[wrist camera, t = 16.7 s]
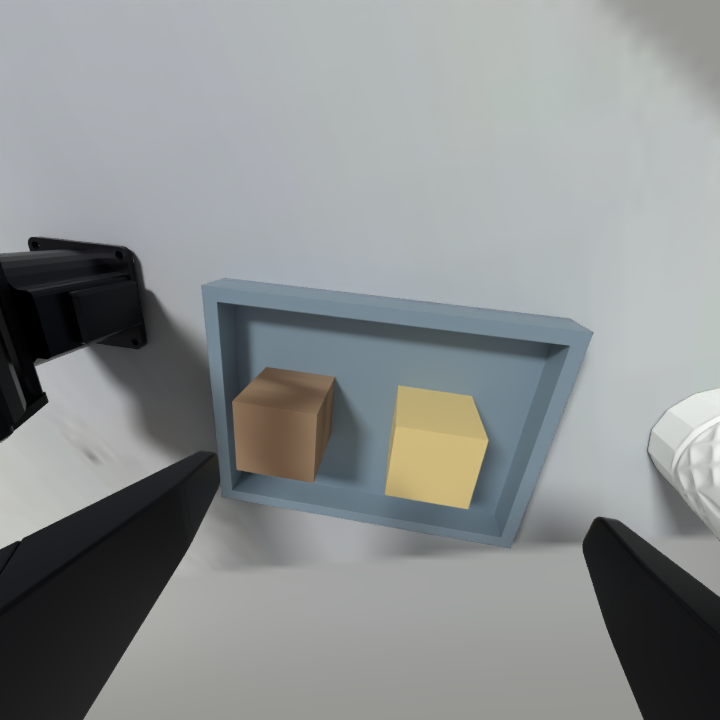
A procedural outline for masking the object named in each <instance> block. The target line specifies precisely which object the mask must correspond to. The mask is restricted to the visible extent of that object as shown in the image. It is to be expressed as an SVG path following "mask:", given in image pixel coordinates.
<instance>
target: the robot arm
mask: <svg viewBox="0 0 720 720" xmlns="http://www.w3.org/2000/svg"><path fill="white" fill-rule="evenodd" d="M28 246H29V249H30V252H16V253H3V254H0V443H1V442H2V441H4V440H6V439H7V438H8V437H9V436H10V435H11V434H12V433H13V431H14V430H16V429H17V428H18V427H19V426H20V425H22V424H23V423H24V422H25V421H26V420H28V419H29V418H30V417H31V416H33V415H34V414H35V413H36V412H37V411H39V410H40V409H41V408H42V407H43V406H45V405H46V404H47V403H48V402H49V401H48V398H47V395H46V392H43V390H42V387H41V384H40V381H39V378H38V375H37V372H36V368H35V366H37V365H40V364H42V363H45V362H48V361H50V360H53V359H55V358H58V357H61V356H63V355H66V354H69V353H71V352H74V351H76V350H79V349H82V348H84V347H87V346H89V345H92V344H95V343H97V344H105V345H112V346H119V347H126V348H133V349H140V348H142V347H144V346H146V344H147V340H146V334H145V328H144V322H143V316H142V311H141V305H140V299H139V293H138V287H137V282H136V276H135V270H134V264H133V258H132V254H131V252H130V250H129V249H128V248H126V247H124V246H118V245H109V244H100V243H91V242H82V241H73V240H64V239H55V238H46V237H30V238H29V240H28ZM39 246H40V247H39ZM120 252H121V253H122V254H123V258H122V257H121V254H120ZM136 339H137V340H138V341H139V343H138V342H137V340H136ZM219 485H220V469H219V459H218V455H217V454H216V453H213V452H207V451H199V452H197V453H195V454H193V455H191V456H189V457H187V458H185V459H183V460H181V461H179V462H176V463H174V464H172V465H170V466H168V467H166V468H164V469H162V470H160V471H158V472H156V473H154V474H152V475H150V476H148V477H146V478H144V479H142V480H140V481H138V482H136V483H134V484H132V485H130V486H128V487H126V488H124V489H122V490H120V491H118V492H116V493H114V494H112V495H110V496H108V497H106V498H104V499H102V500H100V501H98V502H96V503H94V504H92V505H90V506H88V507H85V508H83V509H81V510H79V511H77V512H75V513H73V514H71V515H69V516H67V517H65V518H63V519H61V520H59V521H57V522H55V523H53V524H51V525H49V526H47V527H45V528H43V529H41V530H39V531H37V532H35V533H33V534H31V535H29V536H27V537H25V538H23V539H22V541H17V542H14V543H12V544H10V545H8V546H6V547H4V548H2V549H0V720H83V719H84V717H85V716H86V714H87V712H88V711H89V709H90V708H91V706H92V704H93V702H94V701H95V699H96V698H97V696H98V695H99V693H100V691H101V690H102V688H103V686H104V685H105V683H106V682H107V680H108V678H109V677H110V675H111V673H112V672H113V670H114V669H115V667H116V665H117V664H118V662H119V661H120V659H121V657H122V656H123V654H124V652H125V651H126V649H127V647H128V646H129V644H130V643H131V641H132V640H133V638H134V636H135V635H136V633H137V631H138V630H139V628H140V626H141V625H142V623H143V622H144V620H145V618H146V617H147V615H148V614H149V612H150V610H151V609H152V607H153V605H154V604H155V602H156V601H157V599H158V597H159V596H160V594H161V592H162V591H163V589H164V588H165V586H166V584H167V583H168V581H169V580H170V578H171V576H172V575H173V573H174V571H175V570H176V568H177V567H178V565H179V563H180V562H181V560H182V558H183V557H184V555H185V553H186V552H187V550H188V548H189V546H190V544H191V543H192V541H193V539H194V537H195V535H196V533H197V531H198V529H199V527H200V525H201V523H202V520H203V518H204V516H205V514H206V512H207V510H208V508H209V506H210V504H211V502H212V500H213V498H214V496H215V494H216V492H217V490H218V488H219ZM583 554H584V557H585V560H586V564H587V567H588V570H589V573H590V577H591V580H592V583H593V586H594V590H595V593H596V596H597V599H598V603H599V606H600V609H601V612H602V615H603V618H604V621H605V624H606V627H607V630H608V633H609V635H610V638H611V640H612V643H613V646H614V648H615V650H616V653H617V655H618V658H619V660H620V663H621V665H622V668H623V670H624V673H625V675H626V677H627V680H628V682H629V685H630V687H631V690H632V692H633V695H634V697H635V699H636V702H637V704H638V707H639V709H640V712H641V714H642V717H643V719H644V720H720V597H719V596H718V595H716V594H715V593H714V592H712V591H711V590H710V589H708V588H707V587H706V586H705V585H703V584H702V583H701V582H699V581H698V580H697V579H695V578H694V577H693V576H691V575H690V574H689V573H687V572H686V571H685V570H683V569H682V568H681V567H679V566H678V565H677V564H675V563H674V562H673V561H671V560H670V559H669V558H668V557H666V556H665V555H663V554H662V553H661V552H660V551H658V550H657V549H656V548H655V547H653V546H652V545H651V544H649V543H648V542H647V541H645V540H644V539H643V538H641V537H640V536H639V535H637V534H636V533H635V532H633V531H632V530H631V529H630V528H628V527H627V526H626V525H624V524H623V523H622V522H620V521H618V520H616V519H611V518H605V517H597V518H595V519H594V521H593V522H592V524H591V526H590V528H589V530H588V532H587V534H586V536H585V538H584V541H583Z"/></svg>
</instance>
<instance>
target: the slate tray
mask: <svg viewBox="0 0 720 720" xmlns="http://www.w3.org/2000/svg"><path fill="white" fill-rule="evenodd" d="M201 286H202V296H203V306H204V317H205V327H206V337H207V348H208V358H209V368H210V379H211V389H212V399H213V410H214V420H215V430H216V441H217V451H218V459H219V469H220V482H221V492H222V497H224V498H230V499H236V500H241V501H247V502H252V503H258V504H264V505H269V506H275V507H281V508H286V509H292V510H297V511H303V512H309V513H314V514H320V515H326V516H331V517H337V518H343V519H348V520H354V521H359V522H365V523H371V524H376V525H382V526H388V527H393V528H399V529H404V530H410V531H416V532H421V533H427V534H433V535H438V536H444V537H449V538H455V539H461V540H466V541H472V542H478V543H483V544H489V545H494V546H500V547H506V548H511V546H512V543H513V541H514V538H515V536H516V533H517V530H518V528H519V525H520V523H521V520H522V517H523V515H524V512H525V509H526V507H527V504H528V502H529V499H530V496H531V494H532V491H533V489H534V486H535V483H536V481H537V478H538V476H539V473H540V470H541V468H542V465H543V463H544V460H545V457H546V455H547V452H548V449H549V447H550V444H551V442H552V439H553V436H554V434H555V431H556V429H557V426H558V423H559V421H560V418H561V416H562V413H563V410H564V408H565V405H566V403H567V400H568V397H569V395H570V392H571V389H572V387H573V384H574V382H575V379H576V376H577V374H578V371H579V369H580V366H581V363H582V361H583V358H584V356H585V353H586V350H587V348H588V345H589V343H590V340H591V337H592V335H593V332H592V331H590V330H589V329H587V328H585V327H583V326H582V325H580V324H578V323H577V322H575V321H573V320H571V319H568V318H560V317H551V316H543V315H534V314H526V313H517V312H509V311H500V310H491V309H483V308H474V307H466V306H457V305H449V304H440V303H432V302H423V301H415V300H406V299H398V298H389V297H381V296H372V295H364V294H355V293H347V292H338V291H330V290H321V289H312V288H304V287H295V286H287V285H278V284H270V283H261V282H253V281H244V280H236V279H227V278H224V279H221V280H218V281H214V282H211V283H207V284H204V285H201ZM266 367H270V368H277V369H284V370H291V371H298V372H305V373H312V374H319V375H326V376H333V377H335V382H334V397H333V411H332V425H331V436H330V439H329V442H328V445H327V447H326V450H325V453H324V456H323V458H322V461H321V464H320V467H319V470H318V472H317V475H316V478H315V481H314V483H310V482H305V481H299V480H293V479H287V478H281V477H276V476H270V475H264V474H258V473H252V472H247V471H241V470H237V467H236V452H235V437H234V421H233V406H232V401H233V400H234V399H235V398H236V397H237V396H238V395H239V394H240V393H241V392H242V391H243V390H244V389H245V388H246V387H247V386H248V385H249V384H250V383H251V382H252V381H253V380H254V379H255V378H256V377H257V376H258V375H259V374H260V373H261V372H262V371H263V370H264V369H265V368H266ZM398 385H399V386H405V387H412V388H419V389H426V390H433V391H440V392H447V393H454V394H461V395H468V396H472V397H473V400H474V403H475V405H476V408H477V411H478V413H479V416H480V419H481V421H482V424H483V427H484V430H485V432H486V435H487V438H488V440H489V441H488V444H487V448H486V451H485V454H484V458H483V461H482V464H481V468H480V471H479V474H478V478H477V481H476V484H475V488H474V491H473V494H472V498H471V501H470V504H469V508H468V509H463V508H458V507H452V506H446V505H440V504H434V503H429V502H423V501H417V500H411V499H405V498H400V497H394V496H388V495H385V486H386V474H387V462H388V450H389V441H390V435H391V429H392V422H393V416H394V409H395V403H396V397H397V390H398Z"/></svg>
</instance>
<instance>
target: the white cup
mask: <svg viewBox="0 0 720 720" xmlns="http://www.w3.org/2000/svg"><path fill="white" fill-rule="evenodd" d="M648 452H649V454H650V456H651V458H652V460H653V462H654V464H655V466H656V468H657V469H658V471H659V472H660V473H661V474H662V475H663V476H664V477H665V478H666V479H667V480H668V481H669V482H670V483H671V484H672V485H673V487H674V488H675V489H676V490H677V491H678V492H679V493H680V495H681V496H682V497H683V499H684V500H685V501H686V503H687V504H688V505H689V506H690V508H691V509H692V510H693V511H694V512H695V513H696V515H697V516H698V517H699V518H700V519H702V520H703V521H704V523H705V524H706V525H707V527H708V528H709V529H710V530H711V531H712V533H713V534H714V535H715V536H716V537H717V539H718V540H719V541H720V388H718V389H713V390H709V391H705V392H700V393H696V394H693V395H692V396H690V397H688V398H686V399H685V400H683V401H681V402H680V403H678V404H676V405H675V406H673V407H671V408H670V409H668V410H667V411H666V412H665V414H664V415H663V416H662V417H661V419H660V420H659V421H658V422H657V424H656V425H655V426H654V427H653V428H652V431H651V436H650V441H649V446H648Z"/></svg>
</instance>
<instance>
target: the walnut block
mask: <svg viewBox="0 0 720 720" xmlns="http://www.w3.org/2000/svg"><path fill="white" fill-rule="evenodd" d="M334 382H335V377H333V376H326V375H319V374H312V373H305V372H298V371H291V370H284V369H277V368H270V367H266V368H265V369H264V370H263V371H262V372H261V373H260V374H259V375H258V376H257V377H256V378H255V379H254V380H253V381H252V382H251V383H250V384H249V385H248V386H247V387H246V388H245V389H244V390H243V391H242V392H241V393H240V394H239V395H238V396H237V397H236V398H235V399H234V400H233V401H232V406H233V421H234V437H235V452H236V467H237V470H241V471H247V472H252V473H258V474H264V475H270V476H276V477H281V478H287V479H293V480H299V481H305V482H310V483H314V481H315V478H316V475H317V472H318V470H319V467H320V464H321V461H322V458H323V456H324V453H325V450H326V447H327V445H328V442H329V439H330V436H331V425H332V411H333V397H334Z"/></svg>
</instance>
